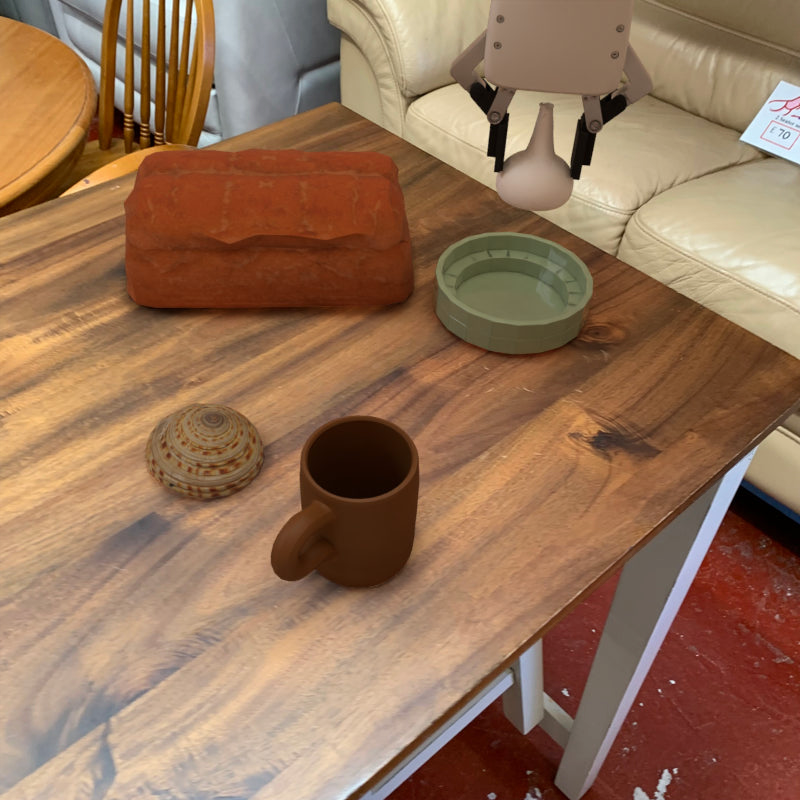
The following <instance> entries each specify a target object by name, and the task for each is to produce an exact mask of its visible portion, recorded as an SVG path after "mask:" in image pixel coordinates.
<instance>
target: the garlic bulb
mask: <svg viewBox="0 0 800 800" xmlns="http://www.w3.org/2000/svg"><path fill="white" fill-rule="evenodd" d="M538 105H539V106H538V107H539V108H538V113H537V117H536V119H535V124H534V127H533V131H532V133H531V136H530V138H529V142H528V144H527V146H526V148H525V149H522V150H519V151H516V152H515V153H512V154H511V155H509V156H508V157H507V158H506V159H504V164H503V171H500V173H497V172H496V173H497V174H496V177H495V189H496V193H497V195H498V197H499V198H500V199H501V200H502V201H503V202H504V203H506V204H508V205H510V206H512V207H513V208H517V209H520V210H524V211H531V212H548V211H553V210H557V209H559V208H561V207H562V206H565V205H566V204H567V203H568V201H569V200H570V198H571V196H572V193H573V191H574V186H575V185H574V181H575V180H573V178H571V176H570V165H569V164H568V163H567V161H566V160H565V159H564V158H563V157H561V156H559V155H558V154H556V151H555V137H554V129H555V128H554V127H555V125H554V108H555V104H554V103H552V102H549V101H548V102H542V101H541V102H540V103H538Z"/></svg>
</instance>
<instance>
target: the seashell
mask: <svg viewBox="0 0 800 800" xmlns="http://www.w3.org/2000/svg"><path fill="white" fill-rule="evenodd" d="M264 457H265V453H264V445H263V441H262V437H261V435H260V433H259V431H258V428H256V426H255V425H254V423H252V421H251V420H250V419H249V418H248V417H246V416H245V415H244V414H243V413H241V412H240V411H238V410H236V409H234V408H231V407H229V406H227V405H224V404H219V403H207V402H206V403H197V402H195V403H192V404H189V405H186V406H184V407H182V408H179V409H178V410H176V411H174V412H173V413H170V414H168V415H167V416H166V417H164V418H161V419H160V420H159V421H158V423H156V425H155V426H154V427H153V429H152V431H150V433H149V436H148V439H147V442H146V445H145V459H146V463H147V465H148V467H149V470H150V471H151V473H152V475H153V476H154V477H155V478H156V479H157V481H159V482H160V483H161V484H162V485H164V487H167V488H168V489H170V490H172V491H174V492H176V493H178V494H181V495H185V496H188V497H192V498H198V499H199V498H200V499H215V498H220V497H225V496H228V495H232V494H233V493H236V492H238V491H240V490H242V489H243V488H244V487H246V486H247V485H249V484H250V483H251V482H252V481H253V480H254V479H255V478H256V477H257V475H258V474H259V472H260V471H261V468H262V465H263V463H264Z"/></svg>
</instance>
